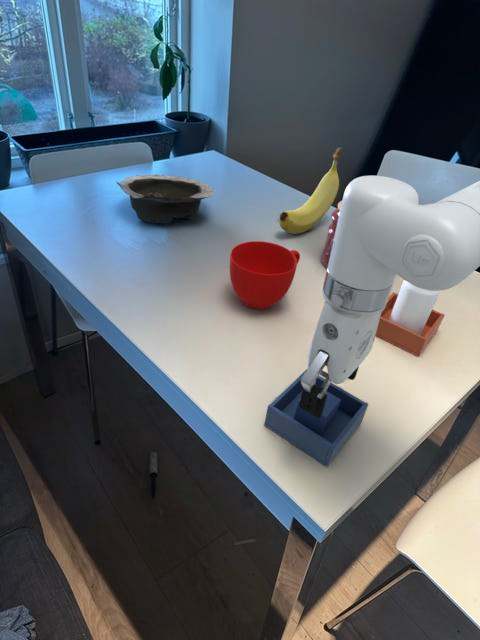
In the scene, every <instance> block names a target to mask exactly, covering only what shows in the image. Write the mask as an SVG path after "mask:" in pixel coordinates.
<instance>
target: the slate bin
mask: <svg viewBox="0 0 480 640" xmlns="http://www.w3.org/2000/svg"><path fill="white" fill-rule="evenodd" d="M307 369H308V368H306V369H305V370H304V371H303V372H302V373H301V374H299V376H298V377H296V379H294V380H293V381H292V382H291V384H289V385H288V386H287V387H286V388H285V389H284V390H283V391H281V393H280V394H279V395H278V396H277V397H276V398H275V399H274V400H273V401H271V402H270V404H268V405H267V409H266V413H265V419H264V424H263V426H265V427H266V428H268V429H269V430H271V431H273V432H274V433H275V434H277V435H278V436H279V437H281V438H283V439H284V440H286V441H287V442H289V443H290V444H292V445H293V446H294V447H296V448H297V449H299V450H301V451H302V452H303V453H305V454H307V455H308V456H309V457H311V458H312V459H313V460H315V461H317V462H318V463H320V464H322V466H325V468H329V466H330V465H331V464H332V462H333V460H334V459H335V458H336V457H337V455H338V454H339V453H340V451H341V450H342V449H343V447H344V446H345V445H346V443H347V442H348V441H349V440H350V438H351V437H352V436H353V434H354V433H355V432H356V431H357V429H358V428H359V426H360V425H361V424H362V422H363V419H364V417H365V414H366V412H367V410H368V407H369V406H370V405H369V403H367V402H366V401H364V400H363V399H360V398H358V397H357V396H355V395H353V394H352V393H350V392H348V391H346V390H345V389H343V388H341V387H339V386H337V384H335V383H334V382H331V383H330V385H329V387H328V389H327V392H329V393H330V394H332V395H334V396H336V397H337V398H339V399H341V401H340V404H339V407H338V410H337V413H336V416H335V419H334V421H333V422H332V423H331V424H330V425H329V427H328V428H327V429H326V430H325V431H324V433H323V434H322V435H321V436H319V435H317V434H316V433H314V432H313V431H311V430H310V429H308V428H307V427H305V426H304V425H302V424H300V423H299V422H297V421H296V420H294V416H295V412H296V409H297V405H298V401H299V400H300V398H301V395H302V390H303V389H302V388H301V386H302V385H301V378H302V376H303V375H304V373H305V372H306V371H307ZM325 379H326V378H325V377H323V376H321V375H319V376H318V377H317V379H316V384H315V385H317V386H319V387H320V388H321V386H322V385H323V383H324V381H325Z"/></svg>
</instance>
